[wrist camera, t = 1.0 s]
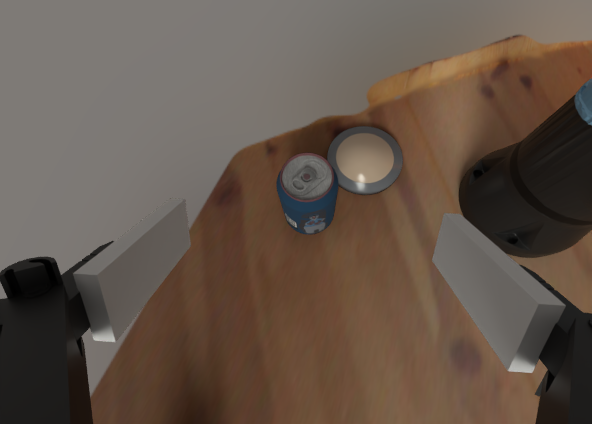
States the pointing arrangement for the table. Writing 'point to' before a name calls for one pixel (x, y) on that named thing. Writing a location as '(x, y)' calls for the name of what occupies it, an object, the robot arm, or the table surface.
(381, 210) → the table surface
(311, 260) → the table surface
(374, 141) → the coaster
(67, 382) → the robot arm
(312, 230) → the soda can
